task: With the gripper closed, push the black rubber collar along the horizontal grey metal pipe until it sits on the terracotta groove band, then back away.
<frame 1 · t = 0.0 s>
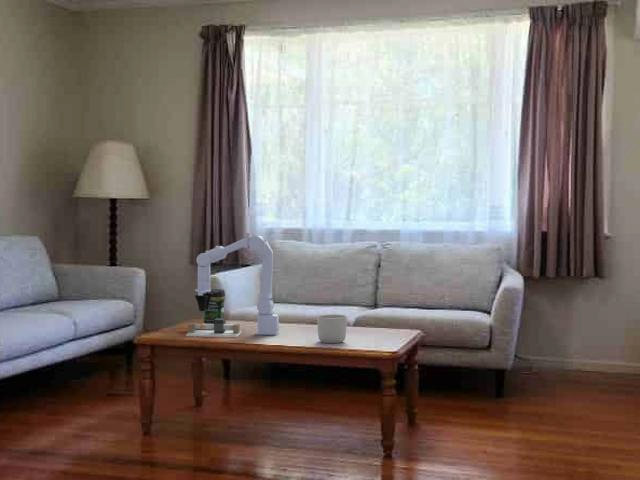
hand: (203, 310, 359), 10 cm above the table, tool pointing down, fingers open, 7 cm apart
planter: (331, 342, 335), on the table
rail: (214, 334, 352), on the table
coffee jar: (214, 328, 372), on the table
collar: (219, 325, 352), point 4 cm above the table, slide at 0.0 cm
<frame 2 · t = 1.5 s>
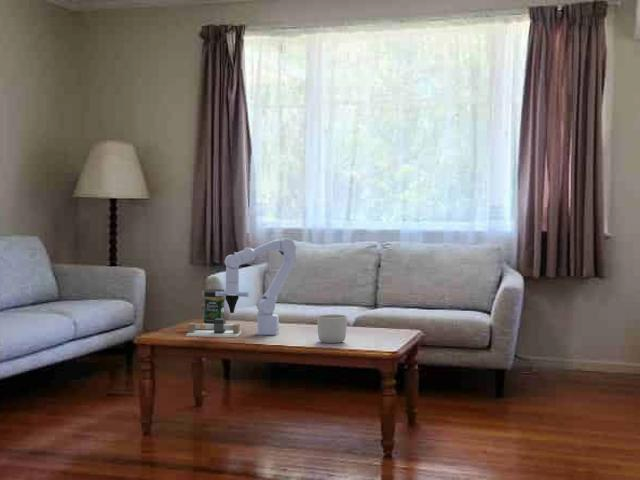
hand: (232, 312, 351), 10 cm above the table, tool pointing down, fingers closed
nothing on the table moved.
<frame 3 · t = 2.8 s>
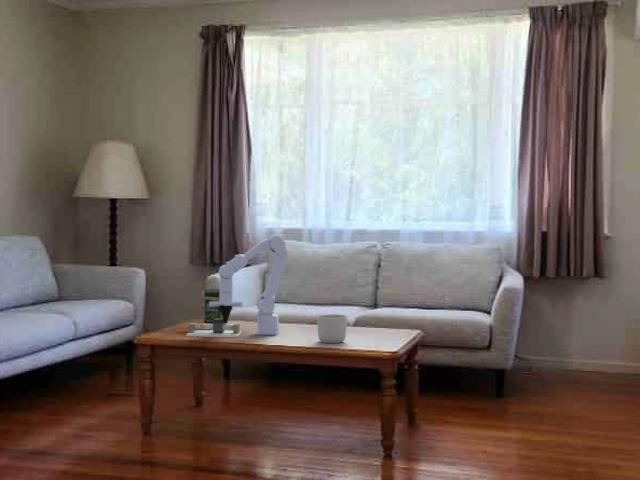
hand: (225, 322, 352), 5 cm above the table, tool pointing down, fingers closed
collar: (218, 325, 352), point 4 cm above the table, slide at 0.4 cm, touching gripper
everything else where it was.
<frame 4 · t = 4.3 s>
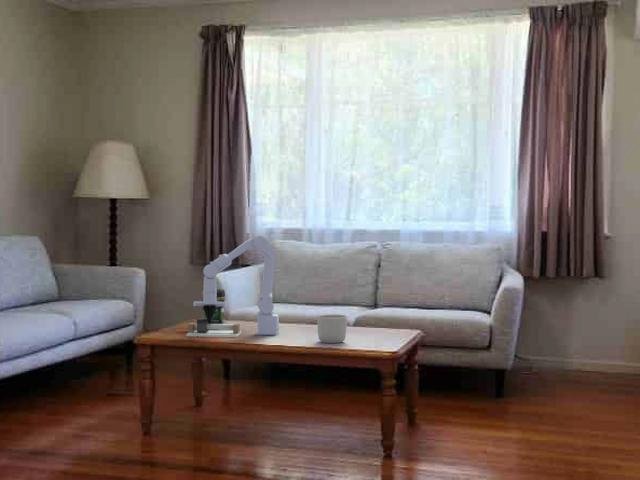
hand: (209, 322, 352), 5 cm above the table, tool pointing down, fingers closed
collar: (202, 325, 353), point 4 cm above the table, slide at 7.5 cm, touching gripper
everything else where it was.
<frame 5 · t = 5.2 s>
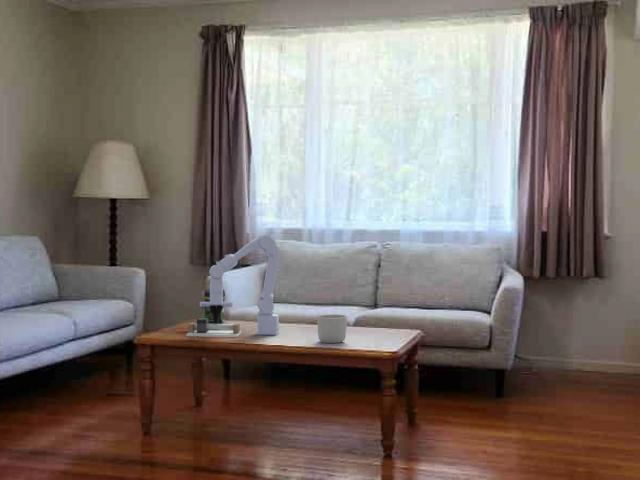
hand: (216, 323, 352), 5 cm above the table, tool pointing down, fingers closed
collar: (202, 325, 353), point 4 cm above the table, slide at 7.6 cm
everything else where it was.
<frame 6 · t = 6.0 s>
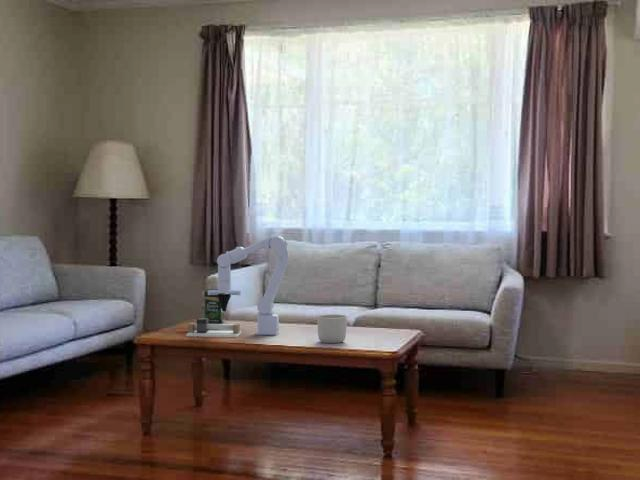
hand: (224, 311, 357), 10 cm above the table, tool pointing down, fingers closed
nothing on the table moved.
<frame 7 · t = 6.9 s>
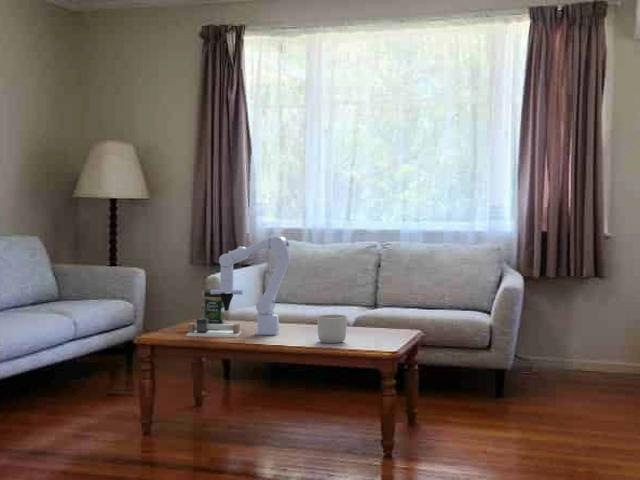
hand: (226, 310, 360), 10 cm above the table, tool pointing down, fingers closed
nothing on the table moved.
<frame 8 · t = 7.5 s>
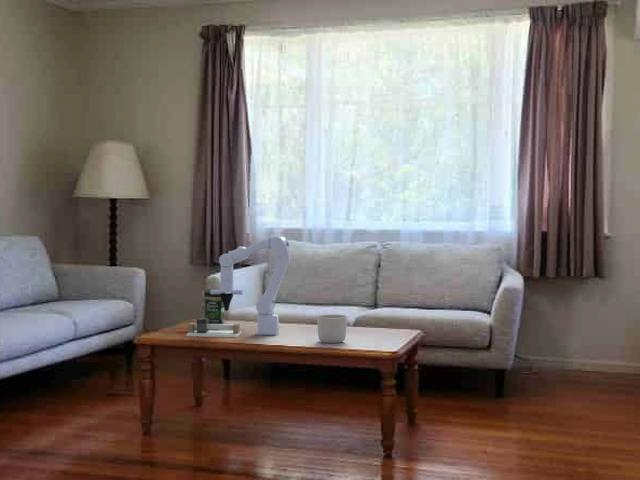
hand: (226, 310, 360), 10 cm above the table, tool pointing down, fingers closed
nothing on the table moved.
at the end: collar slide at 7.6 cm; the gripper is holding nothing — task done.
